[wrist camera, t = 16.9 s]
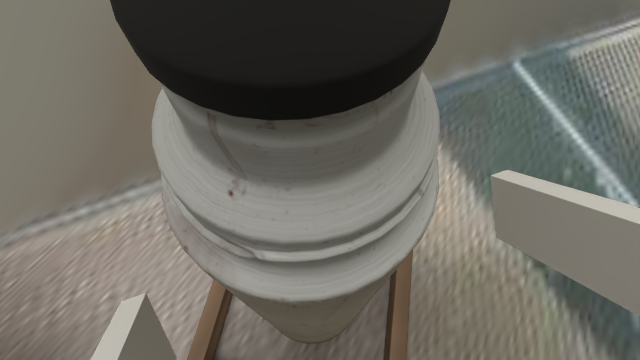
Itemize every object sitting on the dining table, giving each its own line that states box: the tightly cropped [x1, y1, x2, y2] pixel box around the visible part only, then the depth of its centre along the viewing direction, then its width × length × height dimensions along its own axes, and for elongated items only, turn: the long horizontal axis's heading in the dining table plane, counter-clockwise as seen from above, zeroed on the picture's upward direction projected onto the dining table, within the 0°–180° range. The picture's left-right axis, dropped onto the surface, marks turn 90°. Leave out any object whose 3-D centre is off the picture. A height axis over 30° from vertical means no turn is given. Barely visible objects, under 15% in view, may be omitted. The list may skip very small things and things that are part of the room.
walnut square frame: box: [187, 250, 413, 360], centre depth 28 cm, size 16×16×2 cm
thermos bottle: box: [110, 0, 450, 344], centre depth 17 cm, size 8×8×28 cm
